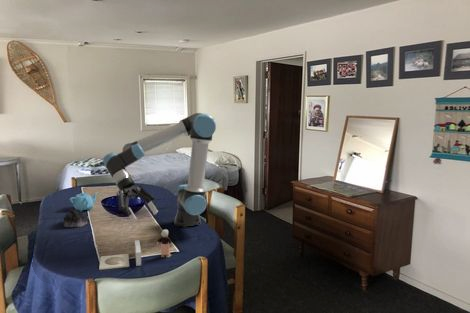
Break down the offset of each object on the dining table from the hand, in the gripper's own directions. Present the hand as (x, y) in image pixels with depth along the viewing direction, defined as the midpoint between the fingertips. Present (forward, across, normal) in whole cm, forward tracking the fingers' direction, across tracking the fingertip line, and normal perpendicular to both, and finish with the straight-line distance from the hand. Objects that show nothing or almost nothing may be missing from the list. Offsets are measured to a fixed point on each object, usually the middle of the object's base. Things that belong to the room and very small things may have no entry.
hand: (145, 216), depth 167 cm
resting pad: (+11, +17, -13) cm, 24 cm away
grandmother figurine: (+20, 0, -3) cm, 20 cm away
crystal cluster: (-28, -1, -52) cm, 60 cm away
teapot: (-42, -21, -66) cm, 81 cm away
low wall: (+15, +9, -9) cm, 19 cm away
